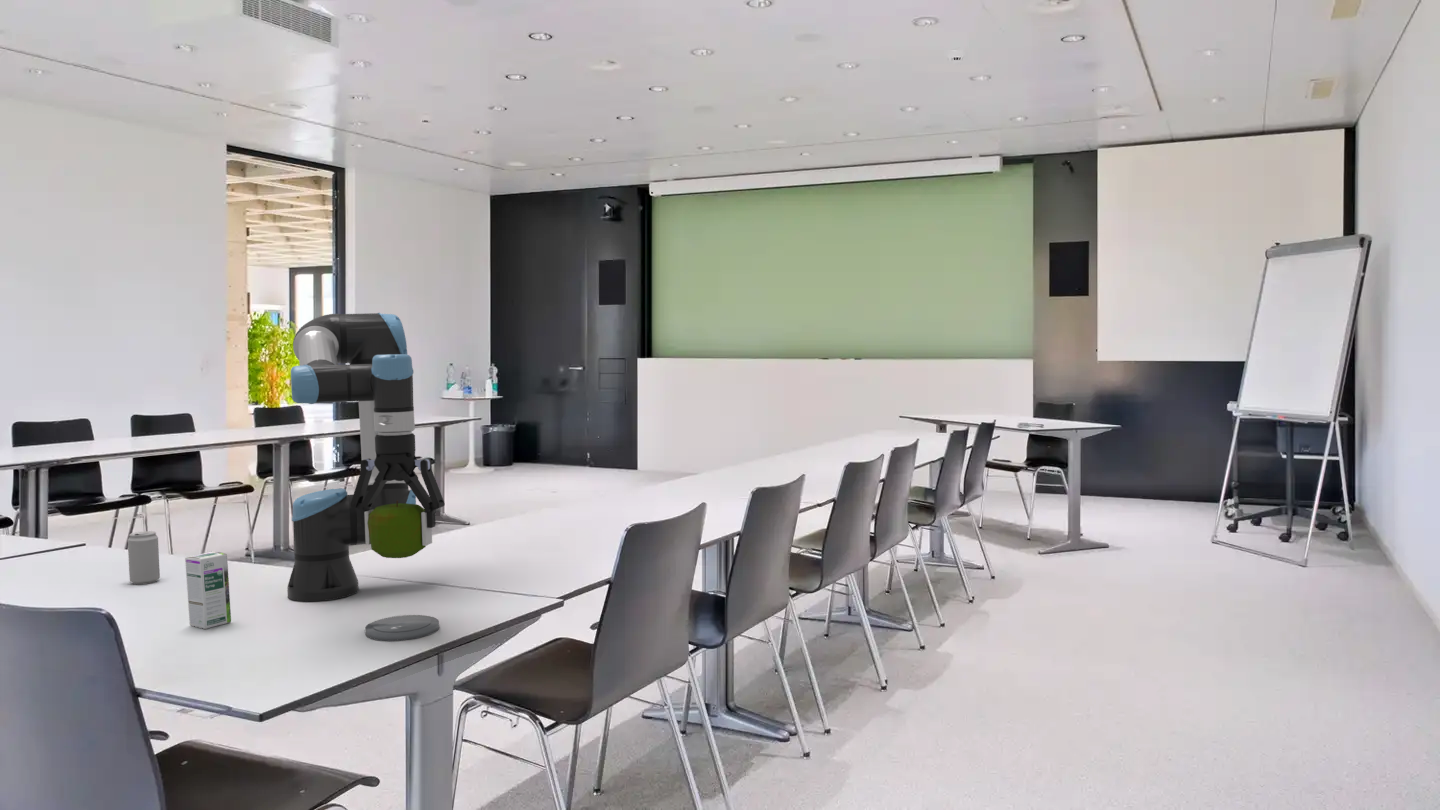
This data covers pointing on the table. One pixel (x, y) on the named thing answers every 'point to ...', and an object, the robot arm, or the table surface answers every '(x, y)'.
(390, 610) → the table surface
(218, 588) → the syrup box
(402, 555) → the apple
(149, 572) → the beverage can
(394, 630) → the slate plate
